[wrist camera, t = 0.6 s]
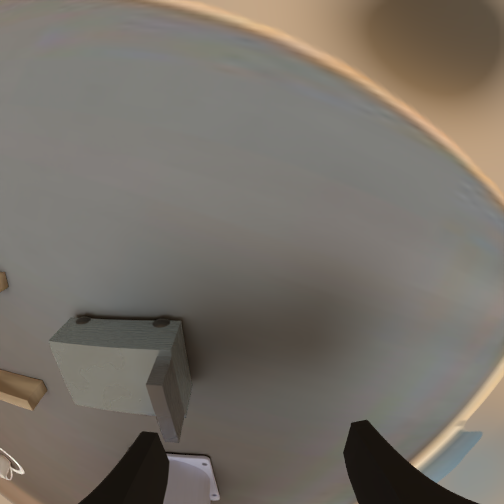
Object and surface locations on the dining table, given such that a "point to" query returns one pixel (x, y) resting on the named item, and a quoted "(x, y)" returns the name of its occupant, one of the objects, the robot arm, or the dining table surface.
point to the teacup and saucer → (7, 466)
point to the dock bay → (19, 380)
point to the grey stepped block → (127, 368)
